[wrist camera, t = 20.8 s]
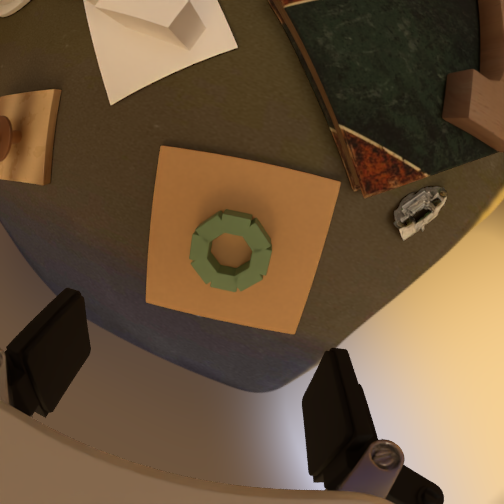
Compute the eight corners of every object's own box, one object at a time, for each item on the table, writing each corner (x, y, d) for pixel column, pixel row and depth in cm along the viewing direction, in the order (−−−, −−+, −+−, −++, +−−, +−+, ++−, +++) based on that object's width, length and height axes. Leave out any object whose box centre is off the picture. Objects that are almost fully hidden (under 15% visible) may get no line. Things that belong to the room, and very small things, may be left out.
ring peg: (-1, 176, 22) (-43, 188, 16) (7, 96, 19) (-36, 96, 13) (50, 183, 22) (3, 198, 16) (62, 89, 19) (13, 84, 13)
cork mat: (147, 300, 26) (145, 302, 26) (162, 145, 21) (160, 145, 21) (294, 332, 26) (294, 334, 26) (340, 181, 21) (341, 182, 21)
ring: (190, 273, 24) (186, 281, 23) (200, 203, 22) (195, 208, 21) (261, 288, 24) (260, 298, 23) (277, 219, 22) (278, 225, 21)
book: (350, 191, 21) (536, 130, 17) (364, 200, 18) (558, 133, 14) (264, -3, 16) (479, -16, 12) (263, -25, 13) (496, -25, 8)
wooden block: (497, 151, 16) (501, 10, 10) (524, 157, 13) (522, 3, 7) (440, 118, 15) (446, -29, 10) (468, 118, 12) (465, -42, 7)
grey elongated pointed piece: (383, 212, 21) (383, 232, 24) (402, 232, 20) (400, 250, 22) (430, 176, 21) (427, 197, 23) (449, 192, 20) (444, 213, 22)
